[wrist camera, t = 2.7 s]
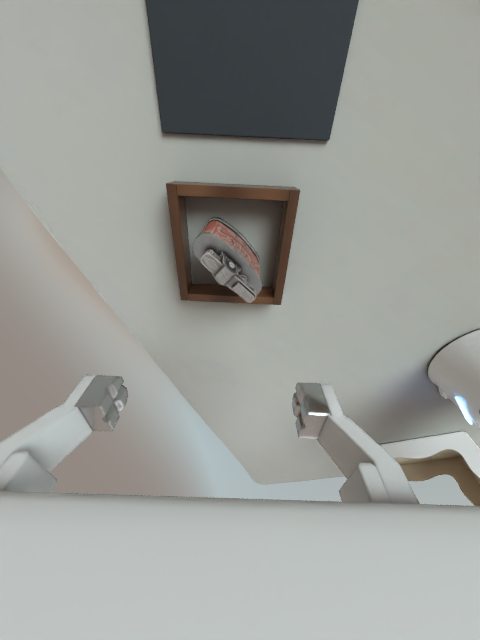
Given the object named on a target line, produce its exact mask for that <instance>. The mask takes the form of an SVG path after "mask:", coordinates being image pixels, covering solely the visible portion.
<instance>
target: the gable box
mask: <svg viewBox="0 0 480 640" xmlns="http://www.w3.org/2000/svg"><path fill="white" fill-rule="evenodd" d="M379 446H381V447H382V448H383V449H384V450H385V451H386V452H387V453H388V454H389V455H390V456H392V457H393V458H394V459H395V460H396V461H397V462H398V463H399V465H400V467H401V468H402V470H403V472H404V474H405V476H406V478H407V480H408V481H424V480H428V479H430V478H433V477H435V476H438V475H442V474H448V475H451V476H452V477H454V478H455V480H456V481H457V482H458V484H459V486H460V489H461V490H462V492H463V493H464V495H465V496H466V497H467V498H468V499H469V500H470V501H471V502H472V503H473V504H474V505H475V506H480V449H479V448H478V446H477V445H476V444H475V443H474V441H473V440H472V439H471V438H470V436H469V435H468V434H467V433H466V432H464V431H461V432H454V433H448V434H442V435H436V436H430V437H424V438H418V439H411V440H405V441H399V442H393V443H387V444H381V445H379Z"/></svg>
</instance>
